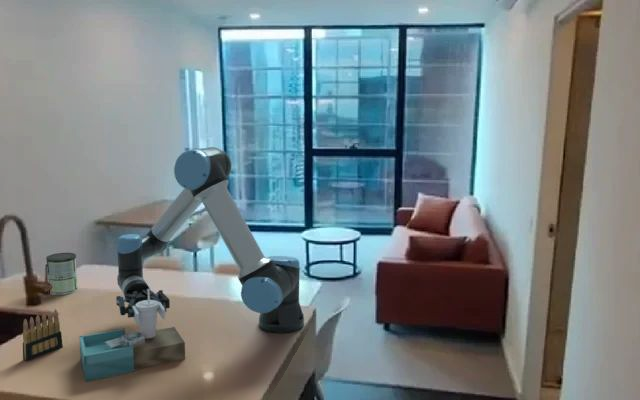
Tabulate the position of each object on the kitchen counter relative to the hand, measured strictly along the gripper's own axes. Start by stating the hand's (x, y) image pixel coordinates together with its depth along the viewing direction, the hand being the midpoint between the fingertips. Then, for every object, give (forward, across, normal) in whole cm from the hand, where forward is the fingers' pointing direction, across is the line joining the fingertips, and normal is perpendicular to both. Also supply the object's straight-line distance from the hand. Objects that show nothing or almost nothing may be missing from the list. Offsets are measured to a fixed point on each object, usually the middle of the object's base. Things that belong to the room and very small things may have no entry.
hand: (151, 316), depth 139 cm
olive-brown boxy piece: (-4, -2, -14) cm, 14 cm away
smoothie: (-5, 0, -8) cm, 10 cm away
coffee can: (-76, +19, -14) cm, 80 cm away
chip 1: (-2, +9, -9) cm, 13 cm away
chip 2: (-3, +4, -9) cm, 10 cm away
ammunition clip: (-20, +26, -14) cm, 36 cm away
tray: (-4, +11, -14) cm, 18 cm away
